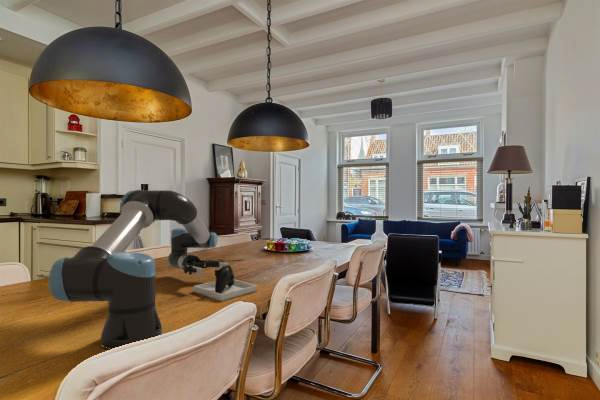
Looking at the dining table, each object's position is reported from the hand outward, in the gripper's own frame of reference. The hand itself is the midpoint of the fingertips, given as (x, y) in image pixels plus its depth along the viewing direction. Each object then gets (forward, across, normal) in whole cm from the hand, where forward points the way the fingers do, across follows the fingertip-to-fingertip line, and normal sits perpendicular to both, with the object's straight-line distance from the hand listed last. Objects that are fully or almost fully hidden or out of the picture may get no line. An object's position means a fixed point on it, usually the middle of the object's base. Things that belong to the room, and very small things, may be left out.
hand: (215, 269), depth 144 cm
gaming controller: (+8, +1, -8) cm, 11 cm away
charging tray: (+8, 0, -8) cm, 11 cm away
